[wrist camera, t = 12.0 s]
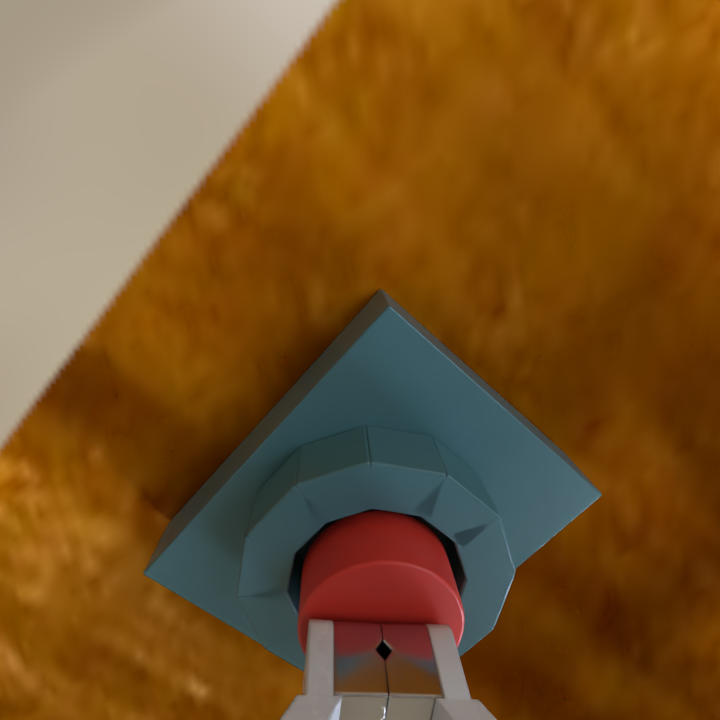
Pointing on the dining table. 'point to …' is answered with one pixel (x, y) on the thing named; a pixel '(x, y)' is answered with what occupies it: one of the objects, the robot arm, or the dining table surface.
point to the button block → (371, 481)
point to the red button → (379, 575)
